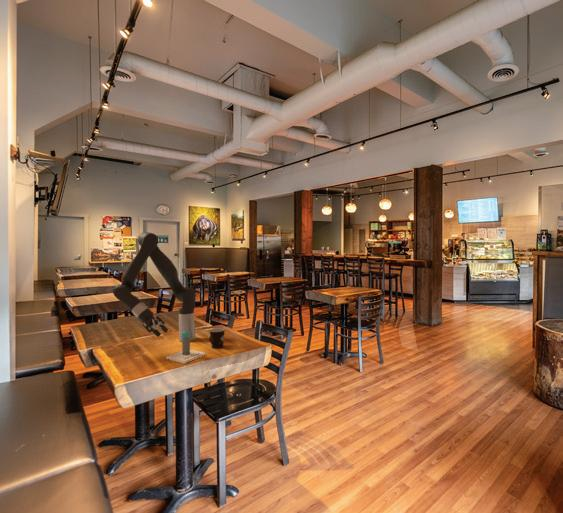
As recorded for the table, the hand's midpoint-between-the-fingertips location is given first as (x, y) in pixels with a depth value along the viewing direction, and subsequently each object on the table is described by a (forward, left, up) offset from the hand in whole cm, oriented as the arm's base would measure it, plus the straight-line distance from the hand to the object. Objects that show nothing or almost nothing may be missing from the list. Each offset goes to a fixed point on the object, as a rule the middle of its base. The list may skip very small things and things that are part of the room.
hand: (163, 333), depth 177 cm
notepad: (-4, +13, -12) cm, 18 cm away
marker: (-5, +12, -11) cm, 17 cm away
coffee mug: (-24, +15, -12) cm, 31 cm away
